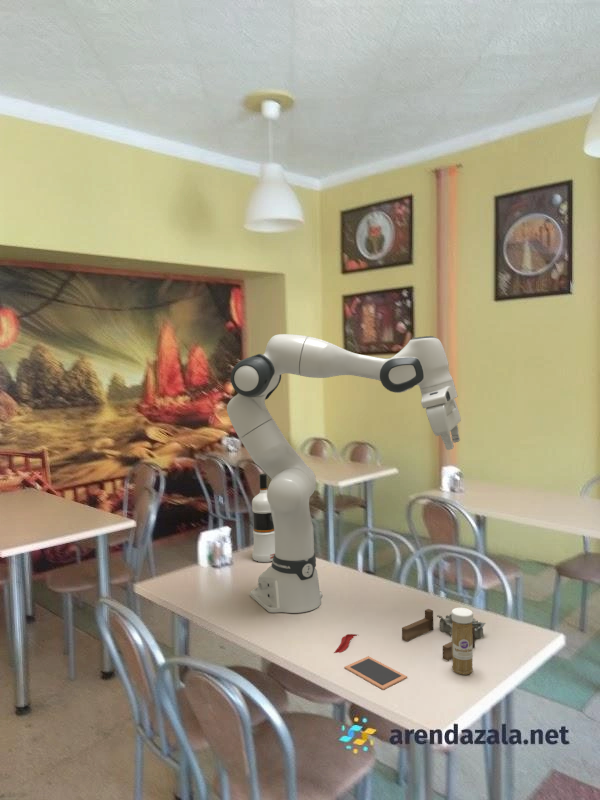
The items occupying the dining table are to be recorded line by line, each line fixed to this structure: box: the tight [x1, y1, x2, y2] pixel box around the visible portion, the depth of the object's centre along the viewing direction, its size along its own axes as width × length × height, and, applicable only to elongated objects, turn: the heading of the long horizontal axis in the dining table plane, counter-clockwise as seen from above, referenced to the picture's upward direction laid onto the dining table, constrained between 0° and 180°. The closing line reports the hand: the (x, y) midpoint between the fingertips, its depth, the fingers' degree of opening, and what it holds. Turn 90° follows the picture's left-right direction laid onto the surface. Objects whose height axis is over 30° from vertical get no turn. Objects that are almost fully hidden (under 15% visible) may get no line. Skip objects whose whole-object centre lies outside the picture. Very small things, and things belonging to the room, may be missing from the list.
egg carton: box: [436, 613, 486, 639], centre depth 153 cm, size 11×8×4 cm
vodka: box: [251, 473, 275, 563], centre depth 213 cm, size 9×9×30 cm
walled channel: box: [401, 608, 476, 662], centre depth 148 cm, size 14×10×5 cm
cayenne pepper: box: [333, 633, 358, 654], centre depth 149 cm, size 12×5×2 cm, turn 135°
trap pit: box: [344, 655, 408, 691], centre depth 135 cm, size 12×8×1 cm, turn 38°
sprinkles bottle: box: [451, 607, 474, 676], centre depth 134 cm, size 5×5×13 cm
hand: (453, 445), depth 161 cm, fingers open, 8 cm apart
